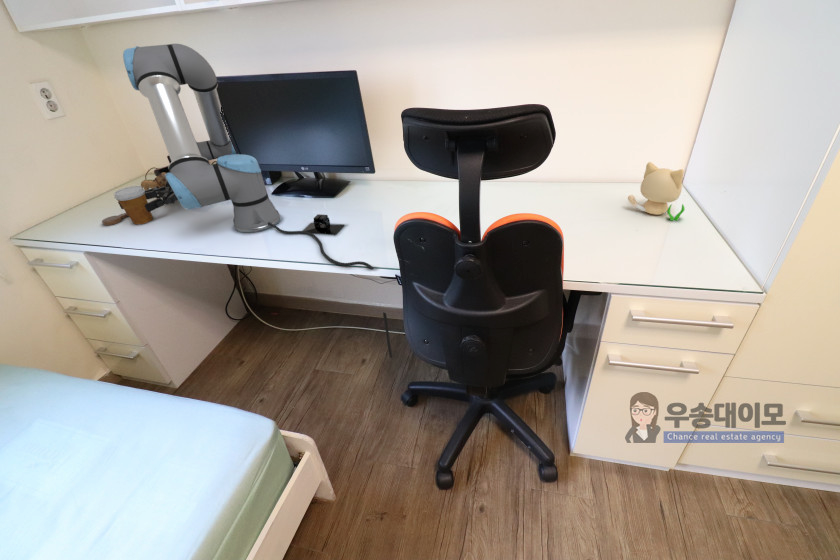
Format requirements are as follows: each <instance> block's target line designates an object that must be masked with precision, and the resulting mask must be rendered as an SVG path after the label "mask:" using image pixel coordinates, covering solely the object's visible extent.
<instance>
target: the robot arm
mask: <svg viewBox="0 0 840 560" xmlns="http://www.w3.org/2000/svg"><path fill="white" fill-rule="evenodd" d="M122 59H123V64H124V68H125V72H126V73H127V77H128V80H129V82H130V85H131V86H132V88H133V89H134V90H135V91H139V93H140V94H141V95H142V96H143V97H145V98H147V100H148V103H149V105H150V107H151V110H152V113H153V116H154V118H155V121H156V124H157V126H158V129H159V132H160V134H161V138H162V140H163V142H164V145H165V148H166V150H167V153H168V156H169V159H170V161H171V162H170V163H169V164H168V165H167V166H168V167H167V169H168V172H166V173H167V174H165V177H166V179H167V182H166V186H164V187H160V188H159V187H155V188H149V189H148V190H145V196H146V199H147V200H151V199H153V200H154V201H153V200H151V201H152V202H151V201H149V202H150V203H147V204H145V205H144V206H145V208H146V210H147V212H151V213H152V211H155V210H156V209H159V208H161V207H164V206H167V205H169V204H170V205H173V204H175V203H176V202H177V201H178V202H179V204H180V205H181V207H182V208H183V209H186V210H193V209H198V208H199V209H201V208H204V207H207V206H211V205H215V204H219V203H223V202H226V201H231V203H232V207H233V219H232V222H233V226H234V228H235V231H237V232H240V233H243V234H250V233H258V232H262V231H266V230H268V229H271V228H273V229H275V230H276V231H278V232H279V233H281V234H286V235H298V234H300V235H301V234H304V235H307V236H311V237H312V238H313V239H314V240H315V241H316V242H317V244H318V246H319V250H320V253H321V254H322V255H323V256H324V258H325V259H327V260H328V261H329V262H331V263H332V264H334V265H337V266H339V267H340V266H342V267H351V266H356V265H357V266H358V265H360V266H365V267H367V268H368V269H369V270H375V268H374V267H373V266H372V265H371V264H369V263H368V262H365V261H359V260H357V261H349V262H342V261H341V262H340V261H338V260H335V259H333V258H332V257H330V256H329V255H328V254H327V253H326V252H325V250H324V246H323V243H322V241H321V240H320V239H319V237H318V236H317V235H316V234H312V233H310V232H307V231H303V230H284V229H281V228H279V227H278V226H277V225H278V224H279V223H280V222H281V215H280V212H279V210H277V208H276V206H275V205H274V203H273V202H272V201H271V199H270V197H269V194H268V191H267V188H266V184H265V181H264V178H263V174H262V169H261V168H260V164H259V161H258V160H257V159H256V158H255V156H252V155H250V154H242V153H241V154H239V153H238V154H236V152H235V150H234V148H233V145H232V143H231V141H230V138H229V136H230V134H229V135H228V133H229V131H228V132H227V130H226V127H225V124H224V122H223V120H222V117H221V114H220V112H221V107H222V104H221V101H220V97H219V93H218V90H217V88H218V86H219V82H218V78H217V75H216V72H215V70H214V68H213V67H212V66H211V64H210V63H209V61H208V60H207V59H206V58H205V57H204V56H203V55H201V54H200V53H199V52H198V51H197V50H195V49H194V48H192V47H190V46H188V45H185V44H183V43H171V44H170V43H169V44H158V45H146V46H134V47H129V48H125V50H123V53H122ZM183 85H187V86H188V88H189V89H190V90H192V91H193V94H194V96H195V100H196V103H197V106H198V109H199V112H200V115H201V117H202V121H203V124H204V126H205V129H206V133H207V136H208V138H209V140H203V141H197V140H196V138H195V135H194V133H193V131H192V128H191V125H190V122H189V120H188V117H187V115H186V112H185V109H184V107H183V104H182V101H181V98H180V96H179V94H180V93H181V91H182V90H181V88H182V87H181V86H183ZM221 113H222V112H221ZM213 160H216V163H213V164H212V163H210V161H213ZM157 198H159V199H157ZM155 199H156V200H155ZM117 203H118V205H119V207H120V209H121V210H124V209H123V207H122V206H121V205H120V203H119V202H118V201H117ZM382 316H383V323H384V329H385V337H386V343H387V350H388V355H389V358H390V359H392V358H393V353H392V346H391V340H390V331H389V324H388V318H387V313H386V312H382Z"/></svg>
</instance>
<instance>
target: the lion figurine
mask: <svg viewBox="0 0 840 560" xmlns="http://www.w3.org/2000/svg"><path fill="white" fill-rule="evenodd" d="M167 173H168V172H160V173H159V174H158V175H157V176H156V177H154V179H153V180H147V179H145V180H142V181H141V182H140V186H141V187H142V188H143V189H144V190H148V189H152V188H155V187H159V188H160V187H164V186H166V182H167V179H166V177H165V174H167Z"/></svg>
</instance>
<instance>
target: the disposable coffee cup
mask: <svg viewBox="0 0 840 560" xmlns="http://www.w3.org/2000/svg"><path fill="white" fill-rule="evenodd" d="M113 195H114V196H113V198H114V199H115V200H116V201H117V203H118V202H119V203H120V205H121V206H122V207H123V209H122V210H124V213H127V214H128V218H129V219H130V220H131V222H132V223H133V224H134V225H136V226H137V225H144V224H147V223H150V222H152V220H154V217H153V214H152V211H151V212H147V210H146V208H145V206H144V205H145V204H147V203H148V202H149V201H148V199H146V196H145V190H144V188H142V187H141V185H132V186H127V187H124V188H121V189H118V190H115V191H114V193H113ZM119 203H118V204H119ZM120 205H119V206H120Z"/></svg>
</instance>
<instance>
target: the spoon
mask: <svg viewBox="0 0 840 560" xmlns="http://www.w3.org/2000/svg"><path fill="white" fill-rule="evenodd" d="M156 199H159V198H154V199H153V200H150V201H147V202H148V203H150V202H152V201H154V200H156ZM126 218H129V216H128V214H127V213H126V212H123V213H120V214H118V215H111V216H107V217H105V218H103V219H102V220H101V223H102V225H103V226H105V227H108V226H113V225H116V224H119V223H121V222H122V221H123V219H126Z"/></svg>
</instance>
